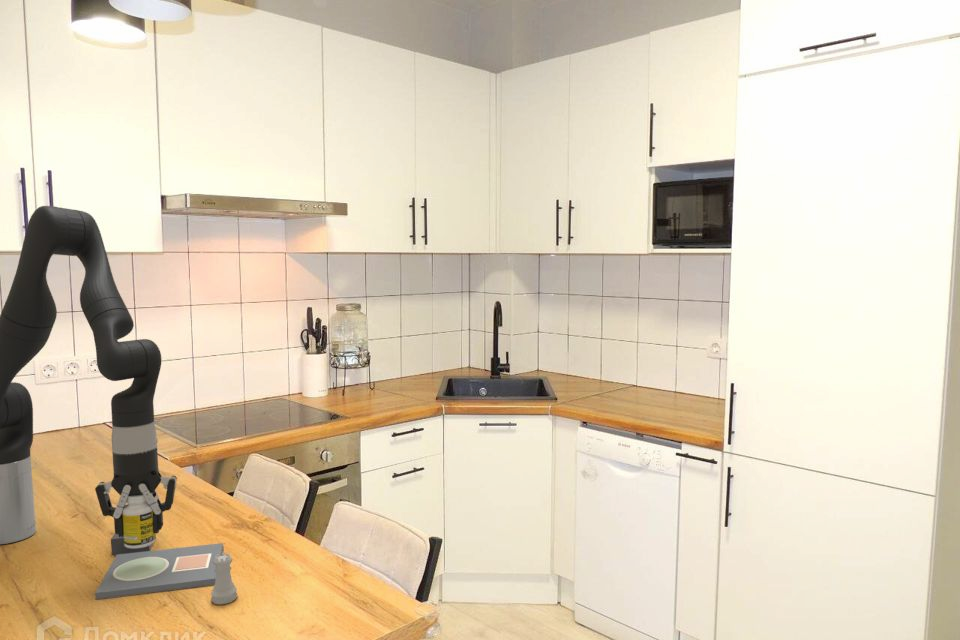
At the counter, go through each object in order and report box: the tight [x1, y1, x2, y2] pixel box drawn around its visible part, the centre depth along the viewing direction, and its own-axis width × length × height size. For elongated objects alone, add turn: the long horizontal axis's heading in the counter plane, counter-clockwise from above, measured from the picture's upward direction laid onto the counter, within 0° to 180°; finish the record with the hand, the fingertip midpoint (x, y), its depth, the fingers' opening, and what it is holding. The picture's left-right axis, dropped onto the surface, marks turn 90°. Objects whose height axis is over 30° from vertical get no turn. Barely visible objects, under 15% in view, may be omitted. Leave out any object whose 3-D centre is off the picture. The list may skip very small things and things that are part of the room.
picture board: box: [94, 542, 225, 601], centre depth 131 cm, size 20×16×1 cm
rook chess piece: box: [210, 552, 238, 606], centre depth 121 cm, size 4×4×8 cm
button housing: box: [110, 532, 157, 557], centre depth 143 cm, size 7×7×4 cm
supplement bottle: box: [123, 495, 157, 548], centre depth 129 cm, size 5×5×10 cm
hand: (139, 533), depth 130 cm, fingers closed on supplement bottle, 5 cm apart
